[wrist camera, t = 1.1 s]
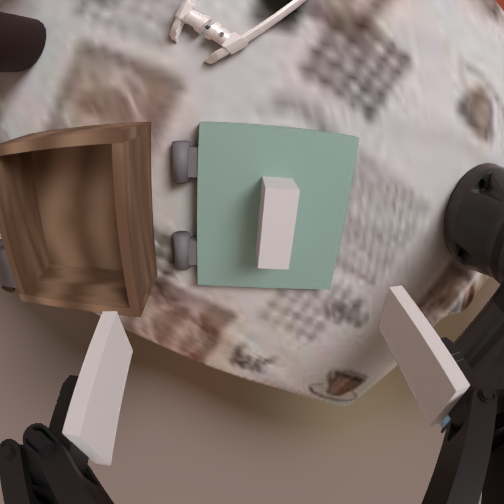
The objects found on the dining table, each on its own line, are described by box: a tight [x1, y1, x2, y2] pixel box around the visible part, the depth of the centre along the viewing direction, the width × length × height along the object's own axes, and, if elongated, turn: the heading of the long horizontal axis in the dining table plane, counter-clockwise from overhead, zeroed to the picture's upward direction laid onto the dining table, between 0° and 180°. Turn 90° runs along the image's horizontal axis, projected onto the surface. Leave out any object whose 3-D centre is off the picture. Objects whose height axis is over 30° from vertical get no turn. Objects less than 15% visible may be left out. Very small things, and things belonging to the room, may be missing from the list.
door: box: [172, 122, 359, 289], centre depth 30 cm, size 18×18×6 cm
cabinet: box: [0, 122, 157, 317], centre depth 27 cm, size 20×18×10 cm
